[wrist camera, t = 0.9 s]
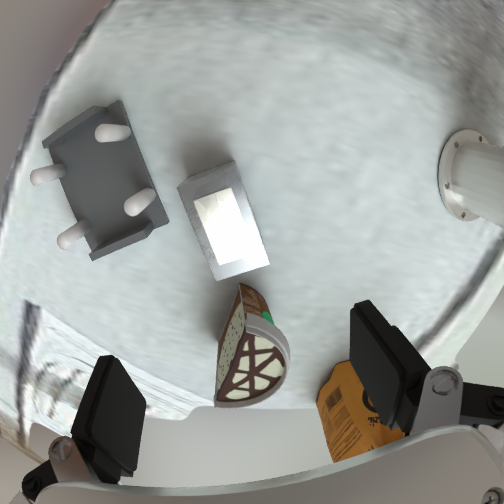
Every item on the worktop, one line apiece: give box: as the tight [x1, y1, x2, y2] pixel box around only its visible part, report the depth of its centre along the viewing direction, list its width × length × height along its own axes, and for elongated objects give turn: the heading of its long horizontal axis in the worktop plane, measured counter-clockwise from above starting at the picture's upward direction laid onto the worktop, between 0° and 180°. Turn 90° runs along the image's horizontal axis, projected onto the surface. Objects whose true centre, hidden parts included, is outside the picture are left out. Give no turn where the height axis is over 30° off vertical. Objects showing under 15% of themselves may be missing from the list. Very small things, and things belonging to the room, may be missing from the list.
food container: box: [214, 283, 290, 409], centre depth 30 cm, size 12×6×10 cm, turn 162°
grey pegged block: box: [30, 100, 169, 261], centre depth 24 cm, size 10×14×6 cm
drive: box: [177, 160, 269, 281], centre depth 26 cm, size 5×9×6 cm, turn 18°
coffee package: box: [317, 361, 404, 463], centre depth 31 cm, size 10×12×22 cm
